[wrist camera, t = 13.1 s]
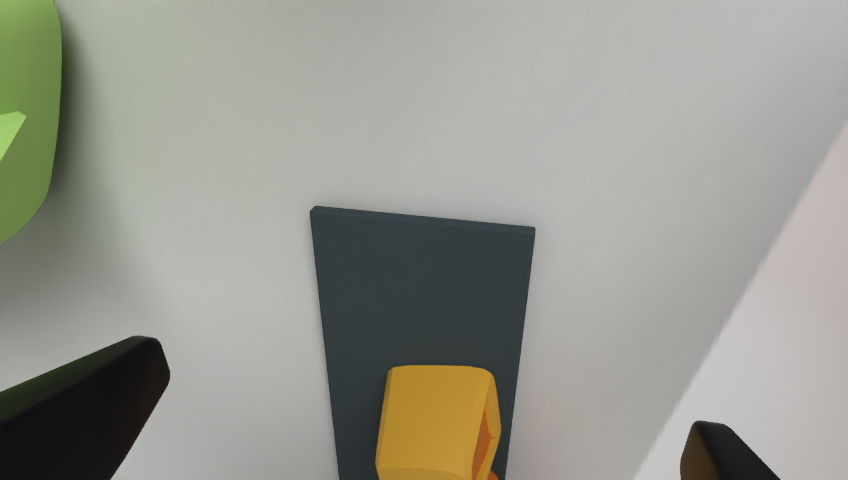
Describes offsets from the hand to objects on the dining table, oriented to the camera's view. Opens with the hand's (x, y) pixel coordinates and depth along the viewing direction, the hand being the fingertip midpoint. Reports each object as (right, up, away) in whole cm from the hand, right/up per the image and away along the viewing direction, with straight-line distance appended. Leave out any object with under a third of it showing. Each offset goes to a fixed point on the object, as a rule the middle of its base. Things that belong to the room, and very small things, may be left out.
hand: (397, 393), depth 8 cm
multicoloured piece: (+2, -8, +17) cm, 19 cm away
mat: (0, -6, +17) cm, 18 cm away
